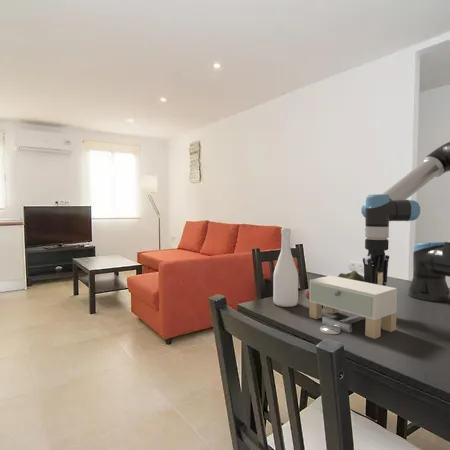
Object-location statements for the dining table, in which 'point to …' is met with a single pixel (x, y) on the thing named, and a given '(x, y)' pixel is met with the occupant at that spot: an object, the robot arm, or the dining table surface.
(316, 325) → the dining table surface
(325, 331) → the steel disc
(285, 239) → the wine bottle
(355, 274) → the decorative rock
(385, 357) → the dining table surface
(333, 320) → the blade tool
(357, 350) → the dining table surface
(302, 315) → the dining table surface
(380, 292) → the cabinet
